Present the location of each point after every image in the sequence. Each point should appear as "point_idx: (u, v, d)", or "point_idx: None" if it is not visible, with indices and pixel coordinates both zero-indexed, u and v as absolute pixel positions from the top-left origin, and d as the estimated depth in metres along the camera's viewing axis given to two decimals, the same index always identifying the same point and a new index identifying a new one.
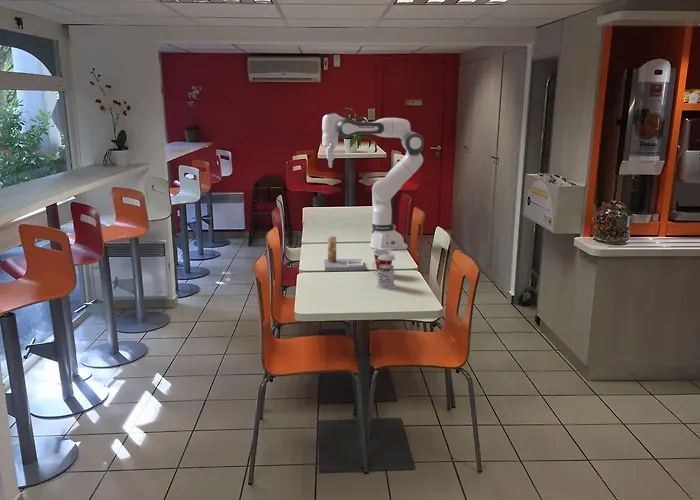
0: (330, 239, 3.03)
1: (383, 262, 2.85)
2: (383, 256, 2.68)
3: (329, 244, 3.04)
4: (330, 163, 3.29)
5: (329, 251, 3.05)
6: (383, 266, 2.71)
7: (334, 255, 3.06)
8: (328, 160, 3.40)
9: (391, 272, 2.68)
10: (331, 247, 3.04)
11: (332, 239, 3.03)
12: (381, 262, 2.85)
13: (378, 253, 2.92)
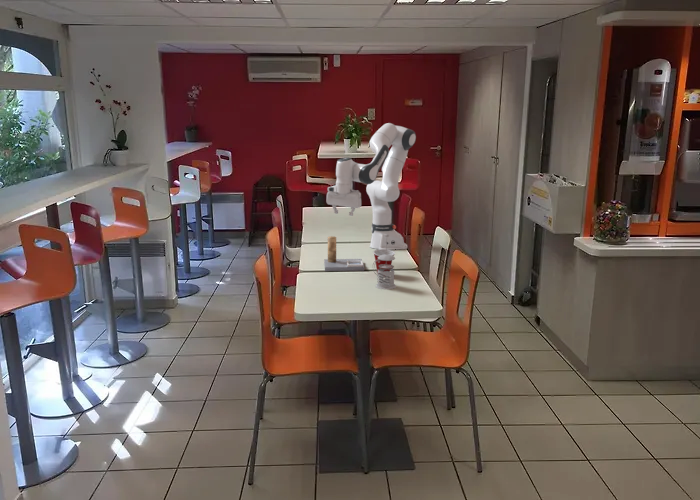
0: (330, 239, 3.03)
1: (383, 262, 2.85)
2: (383, 256, 2.68)
3: (329, 244, 3.04)
4: (353, 211, 3.10)
5: (329, 251, 3.05)
6: (383, 266, 2.71)
7: (334, 255, 3.06)
8: (334, 207, 3.15)
9: (391, 272, 2.68)
10: (331, 247, 3.04)
11: (332, 239, 3.03)
12: (381, 262, 2.85)
13: (378, 253, 2.92)
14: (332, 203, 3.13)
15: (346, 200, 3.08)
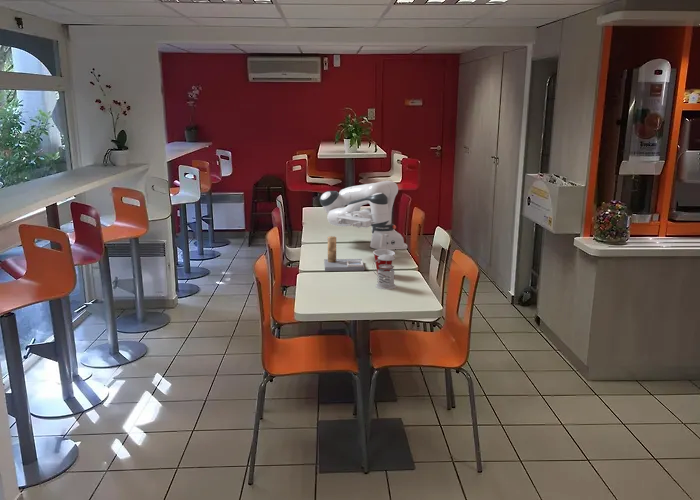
0: (330, 239, 3.03)
1: (383, 262, 2.85)
2: (383, 256, 2.68)
3: (329, 244, 3.04)
4: (358, 224, 3.12)
5: (329, 251, 3.05)
6: (383, 266, 2.71)
7: (334, 255, 3.06)
8: (340, 220, 3.18)
9: (391, 272, 2.68)
10: (331, 247, 3.04)
11: (332, 239, 3.03)
12: (381, 262, 2.85)
13: (378, 253, 2.92)
14: (342, 217, 3.20)
15: (358, 218, 3.18)
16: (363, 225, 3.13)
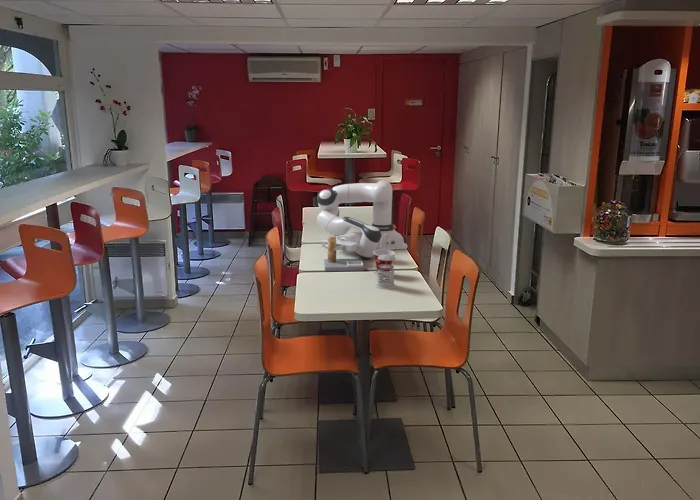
0: (330, 239, 3.03)
1: (383, 262, 2.85)
2: (383, 256, 2.68)
3: (329, 244, 3.04)
4: (340, 248, 3.05)
5: (329, 251, 3.05)
6: (383, 266, 2.71)
7: (334, 255, 3.06)
8: None
9: (391, 272, 2.68)
10: (331, 247, 3.04)
11: (332, 239, 3.03)
12: (381, 262, 2.85)
13: (378, 253, 2.92)
14: None
15: (344, 242, 3.10)
16: (348, 249, 3.05)
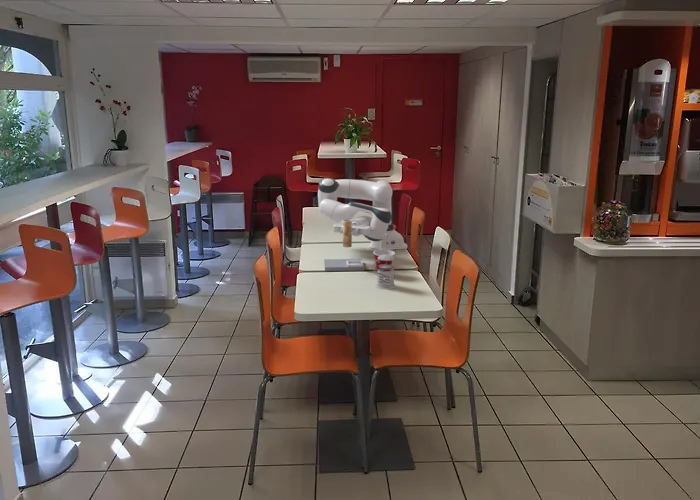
0: (346, 223, 2.96)
1: (383, 262, 2.85)
2: (383, 256, 2.68)
3: (345, 228, 2.97)
4: (355, 232, 2.99)
5: (345, 236, 2.98)
6: (383, 266, 2.71)
7: (350, 239, 2.99)
8: (342, 229, 3.03)
9: (391, 272, 2.68)
10: (347, 231, 2.97)
11: (348, 223, 2.96)
12: (381, 262, 2.85)
13: (378, 253, 2.92)
14: (340, 225, 3.06)
15: (357, 226, 3.05)
16: (364, 233, 3.00)
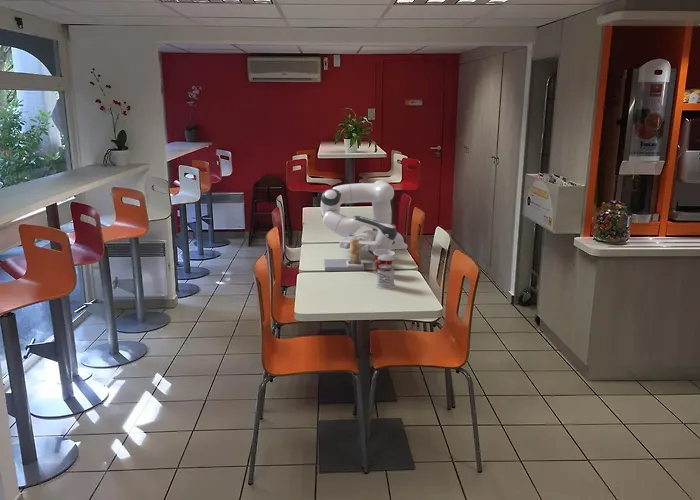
0: (354, 242, 2.97)
1: (383, 262, 2.85)
2: (383, 256, 2.68)
3: (353, 247, 2.98)
4: (366, 248, 3.00)
5: (353, 254, 2.99)
6: (383, 266, 2.71)
7: (358, 258, 3.00)
8: None
9: (391, 272, 2.68)
10: (355, 250, 2.98)
11: (356, 242, 2.97)
12: (381, 262, 2.85)
13: (378, 253, 2.92)
14: (346, 241, 3.06)
15: (364, 241, 3.06)
16: (371, 248, 3.01)
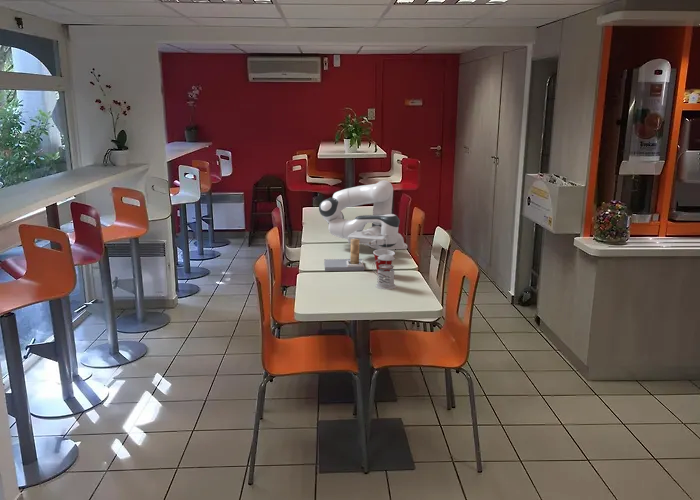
0: (354, 242, 2.97)
1: (383, 262, 2.85)
2: (383, 256, 2.68)
3: (353, 247, 2.98)
4: (374, 242, 3.11)
5: (353, 254, 2.99)
6: (383, 266, 2.71)
7: (358, 258, 3.00)
8: None
9: (391, 272, 2.68)
10: (355, 250, 2.98)
11: (356, 242, 2.97)
12: (381, 262, 2.85)
13: (378, 253, 2.92)
14: (354, 236, 3.18)
15: (371, 236, 3.17)
16: (378, 243, 3.13)
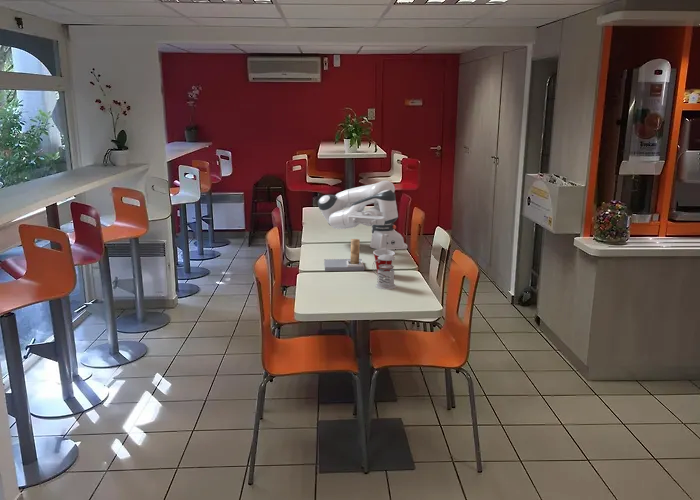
0: (354, 242, 2.97)
1: (383, 262, 2.85)
2: (383, 256, 2.68)
3: (353, 247, 2.98)
4: (374, 222, 3.09)
5: (353, 254, 2.99)
6: (383, 266, 2.71)
7: (358, 258, 3.00)
8: None
9: (391, 272, 2.68)
10: (355, 250, 2.98)
11: (357, 242, 2.97)
12: (381, 262, 2.85)
13: (378, 253, 2.92)
14: (354, 216, 3.15)
15: None
16: (379, 223, 3.10)
